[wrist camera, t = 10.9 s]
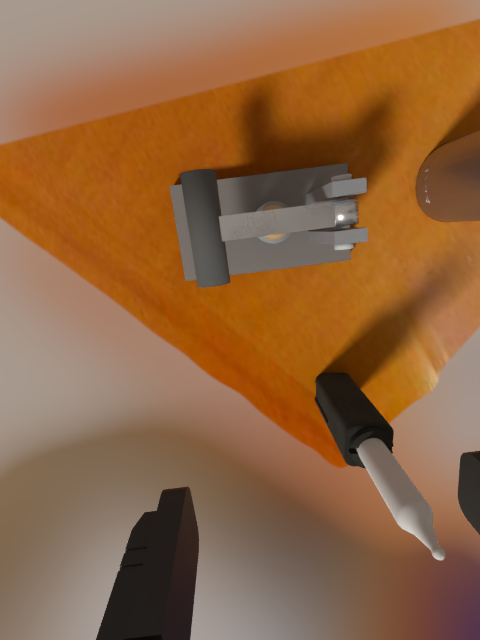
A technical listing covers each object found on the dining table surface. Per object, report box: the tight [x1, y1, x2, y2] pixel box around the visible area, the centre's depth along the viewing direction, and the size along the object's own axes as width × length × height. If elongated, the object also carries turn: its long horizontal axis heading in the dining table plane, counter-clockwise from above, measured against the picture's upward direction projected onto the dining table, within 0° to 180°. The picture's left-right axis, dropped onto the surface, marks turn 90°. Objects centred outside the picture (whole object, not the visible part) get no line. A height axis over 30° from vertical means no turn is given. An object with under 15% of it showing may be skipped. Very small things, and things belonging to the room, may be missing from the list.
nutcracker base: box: [170, 163, 367, 281], centre depth 34 cm, size 20×11×12 cm, turn 97°
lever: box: [180, 169, 359, 287], centre depth 31 cm, size 16×10×4 cm, turn 97°
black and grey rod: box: [315, 373, 445, 560], centre depth 35 cm, size 5×5×25 cm
